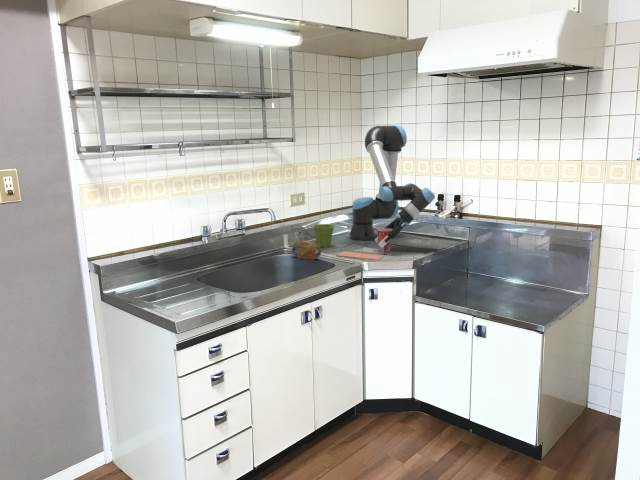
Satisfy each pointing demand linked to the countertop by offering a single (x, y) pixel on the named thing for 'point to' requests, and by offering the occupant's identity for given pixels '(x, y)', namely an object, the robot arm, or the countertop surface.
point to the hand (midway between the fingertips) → (378, 244)
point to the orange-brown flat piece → (306, 250)
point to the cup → (381, 235)
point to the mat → (360, 255)
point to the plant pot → (323, 234)
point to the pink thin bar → (366, 252)
